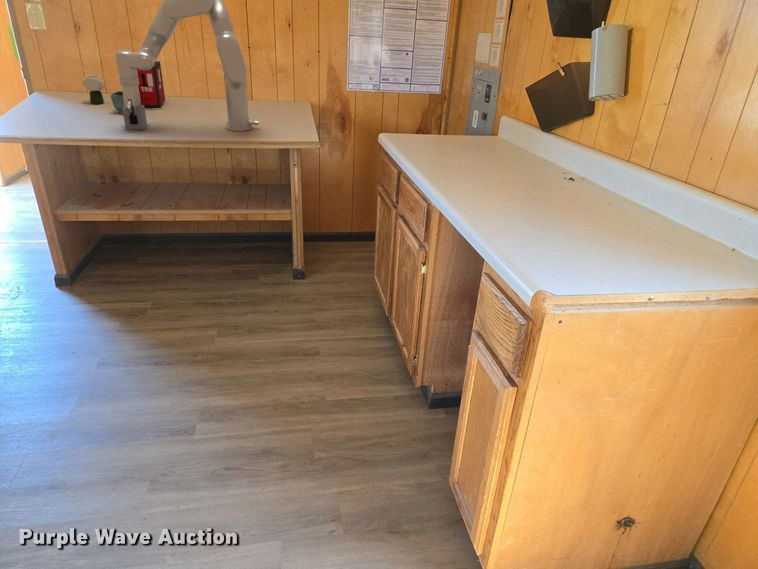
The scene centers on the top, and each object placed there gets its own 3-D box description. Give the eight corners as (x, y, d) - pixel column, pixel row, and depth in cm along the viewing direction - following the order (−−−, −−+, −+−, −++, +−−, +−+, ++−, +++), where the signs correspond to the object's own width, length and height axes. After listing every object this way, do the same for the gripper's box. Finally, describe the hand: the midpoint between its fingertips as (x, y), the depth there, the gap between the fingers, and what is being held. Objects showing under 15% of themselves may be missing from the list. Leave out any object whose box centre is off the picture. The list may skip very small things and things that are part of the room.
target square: (149, 125, 245) (149, 124, 244) (145, 130, 237) (145, 130, 237) (128, 124, 243) (128, 124, 243) (124, 130, 235) (124, 129, 235)
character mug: (111, 102, 273) (106, 76, 266) (104, 105, 267) (99, 78, 260) (90, 100, 273) (85, 74, 266) (83, 103, 267) (77, 76, 260)
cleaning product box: (160, 108, 270) (154, 67, 259) (141, 108, 268) (135, 66, 257) (165, 101, 283) (159, 61, 273) (147, 100, 282) (141, 60, 271)
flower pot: (131, 115, 256) (128, 96, 251) (113, 113, 256) (109, 94, 251) (138, 110, 263) (135, 92, 259) (121, 109, 263) (117, 90, 259)
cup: (147, 124, 244) (144, 105, 239) (144, 129, 237) (140, 109, 233) (129, 124, 242) (126, 104, 238) (125, 129, 236) (122, 109, 231)
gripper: (124, 76, 236) (131, 116, 245) (115, 85, 221) (122, 126, 231) (142, 77, 237) (148, 116, 246) (134, 85, 223) (141, 127, 232)
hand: (136, 121), depth 238 cm, fingers closed on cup, 7 cm apart
